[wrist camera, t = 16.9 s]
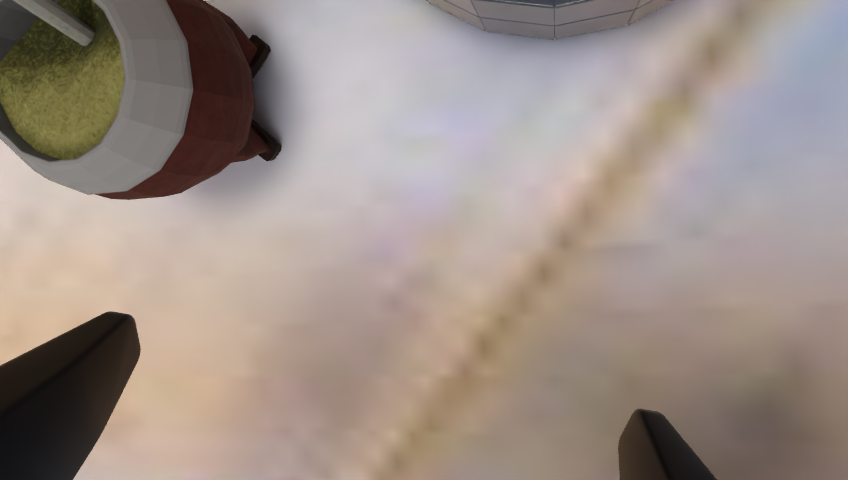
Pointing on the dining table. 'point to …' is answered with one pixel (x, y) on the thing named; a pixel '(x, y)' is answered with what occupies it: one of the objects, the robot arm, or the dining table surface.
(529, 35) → the large metal bowl
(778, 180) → the dining table surface
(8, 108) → the mate gourd
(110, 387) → the robot arm
